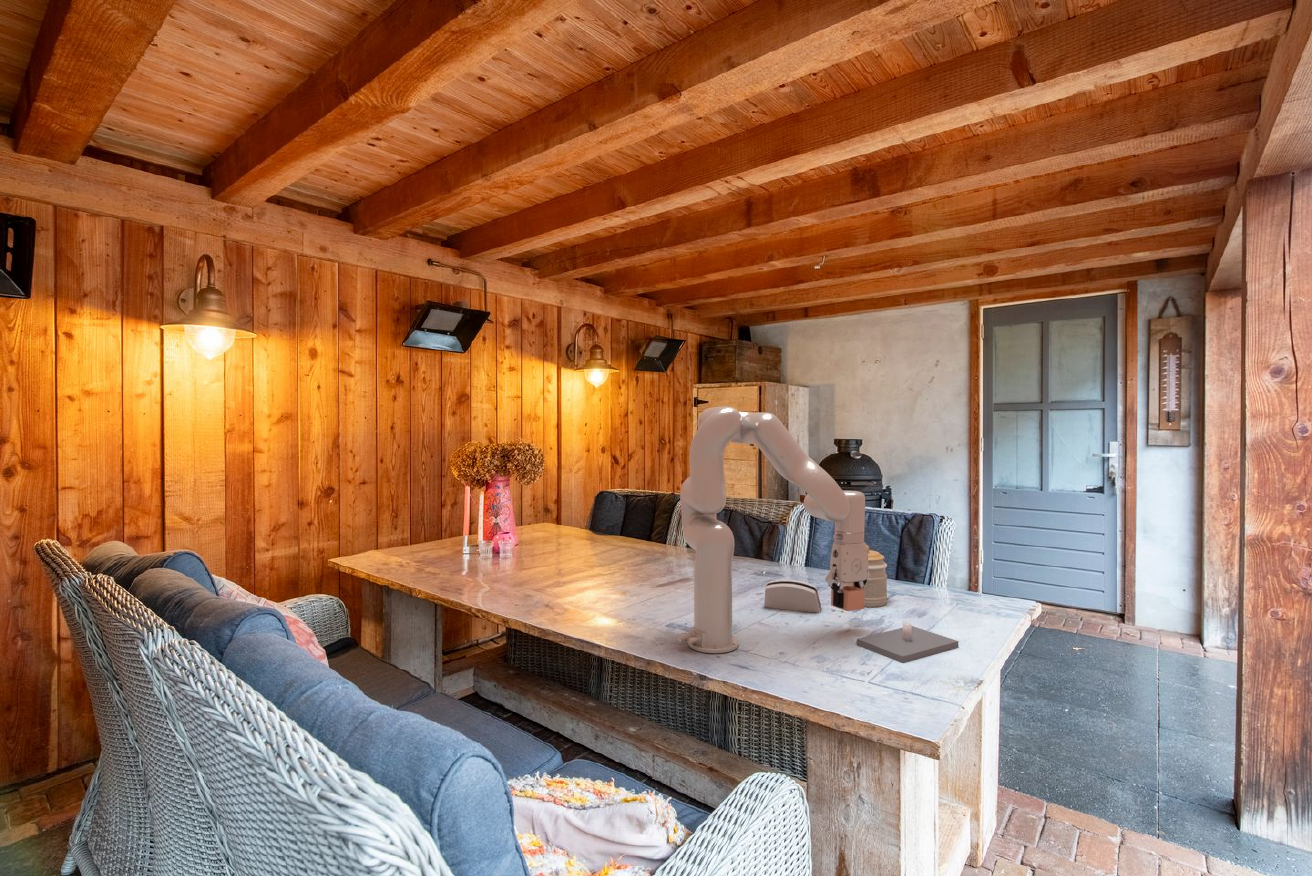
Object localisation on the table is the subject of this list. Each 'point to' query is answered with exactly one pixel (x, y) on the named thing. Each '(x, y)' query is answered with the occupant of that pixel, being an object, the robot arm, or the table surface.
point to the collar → (851, 598)
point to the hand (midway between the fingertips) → (847, 604)
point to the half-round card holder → (792, 596)
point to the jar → (875, 581)
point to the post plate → (907, 643)
